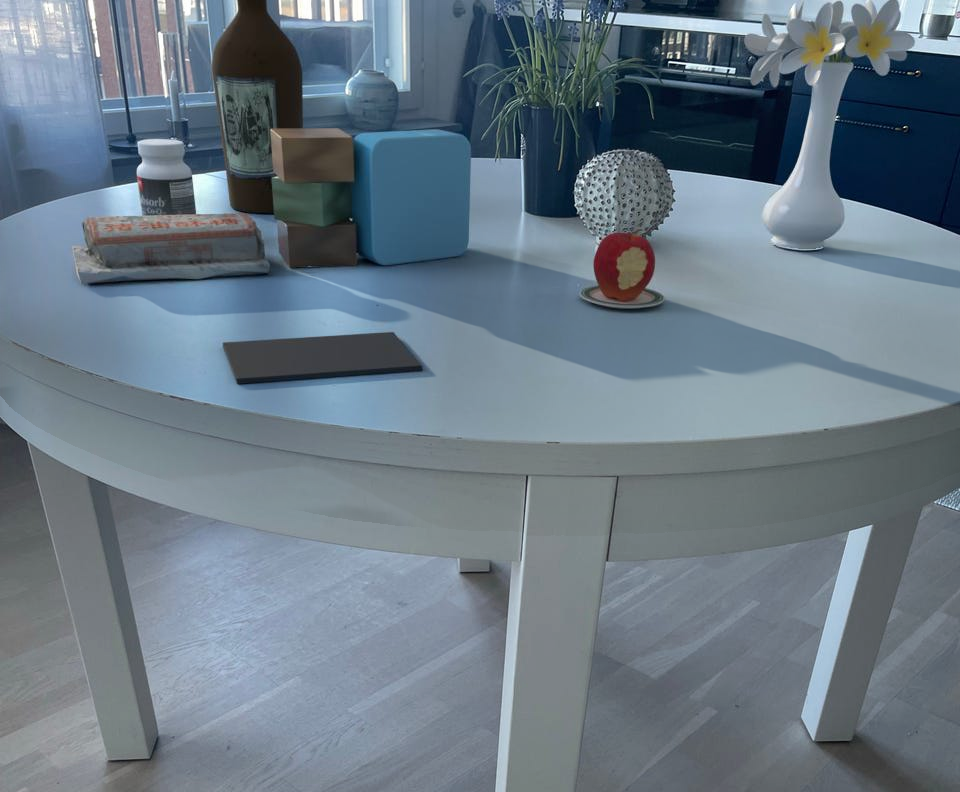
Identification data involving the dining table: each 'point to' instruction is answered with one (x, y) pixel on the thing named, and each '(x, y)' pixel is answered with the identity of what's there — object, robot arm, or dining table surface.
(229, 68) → the olive oil
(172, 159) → the pill bottle
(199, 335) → the dining table surface
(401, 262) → the data package
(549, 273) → the dining table surface
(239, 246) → the packaged product
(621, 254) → the apple
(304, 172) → the tower
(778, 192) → the flower vase
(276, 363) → the mat
